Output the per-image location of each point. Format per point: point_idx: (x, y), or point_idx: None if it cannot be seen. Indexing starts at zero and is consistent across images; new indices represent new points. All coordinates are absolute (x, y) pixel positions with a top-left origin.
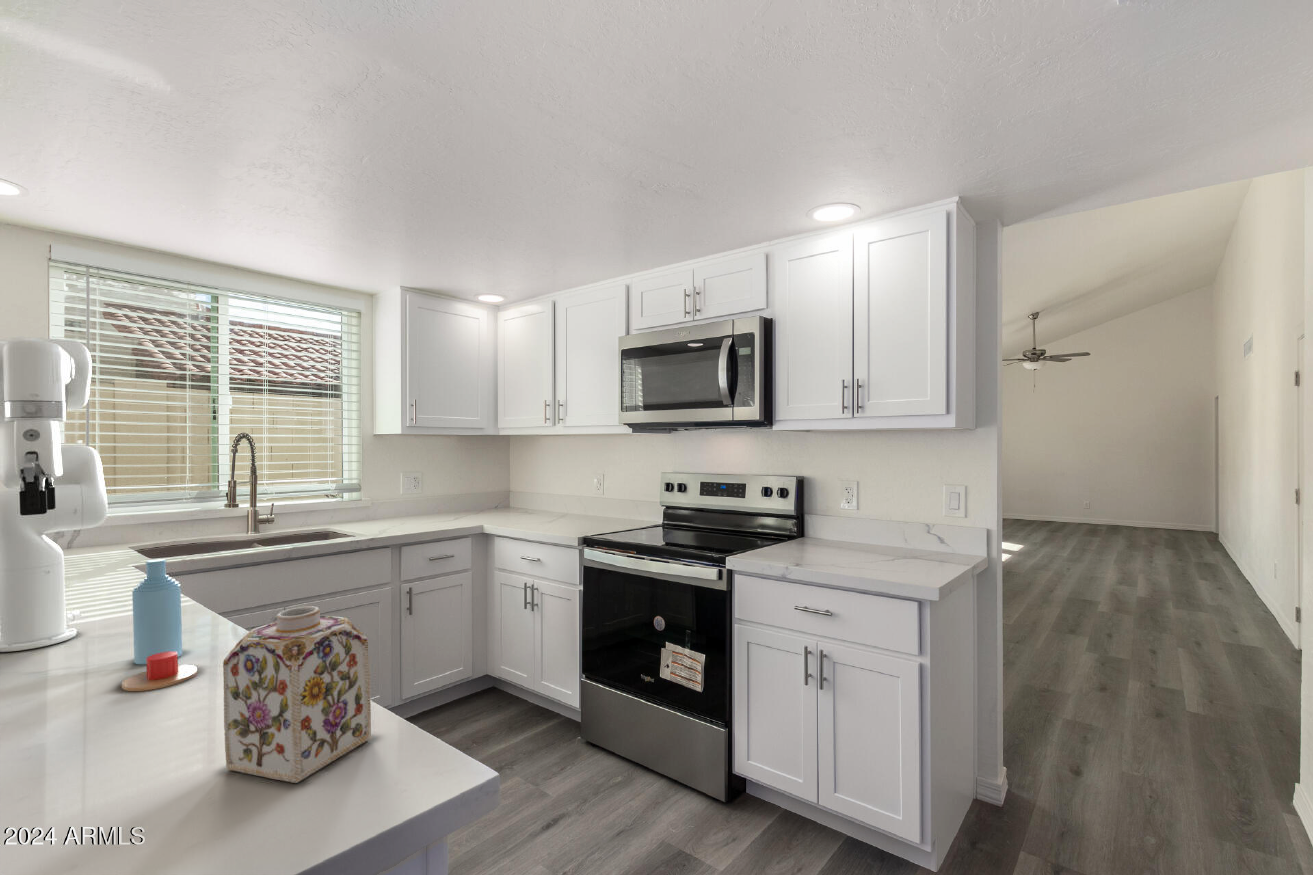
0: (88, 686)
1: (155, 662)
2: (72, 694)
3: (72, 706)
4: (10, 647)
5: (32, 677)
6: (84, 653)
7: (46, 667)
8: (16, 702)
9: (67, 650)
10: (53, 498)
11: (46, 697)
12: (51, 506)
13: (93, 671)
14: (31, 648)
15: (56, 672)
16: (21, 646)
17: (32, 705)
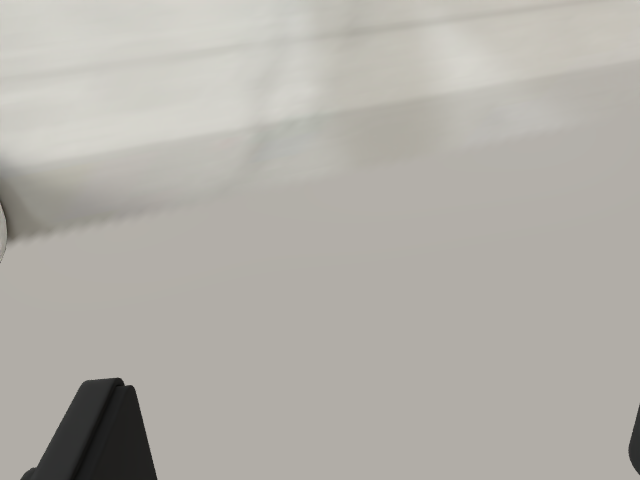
0: (482, 10)
1: None
2: (521, 35)
3: (615, 21)
4: (1, 250)
5: (302, 146)
6: (128, 68)
7: (225, 134)
8: (488, 135)
9: (63, 118)
10: (98, 472)
11: (499, 85)
12: (125, 413)
13: (348, 17)
14: (1, 206)
15: (293, 103)
16: (1, 228)
17: (537, 101)
